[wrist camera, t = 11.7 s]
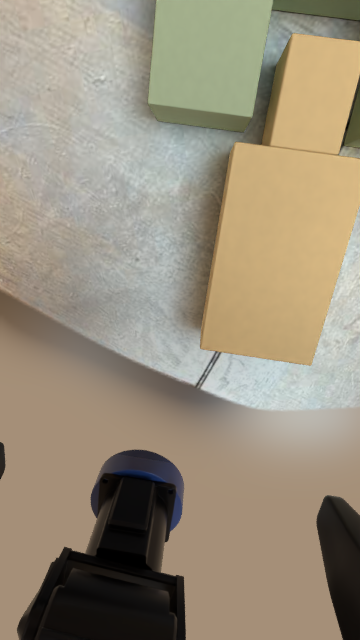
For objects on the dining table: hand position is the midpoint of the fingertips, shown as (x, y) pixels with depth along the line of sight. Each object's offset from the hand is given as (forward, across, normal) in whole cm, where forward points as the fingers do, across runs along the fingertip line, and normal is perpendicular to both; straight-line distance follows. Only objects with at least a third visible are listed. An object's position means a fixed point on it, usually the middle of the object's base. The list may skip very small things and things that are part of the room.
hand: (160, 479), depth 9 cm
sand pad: (+12, -4, -7) cm, 14 cm away
